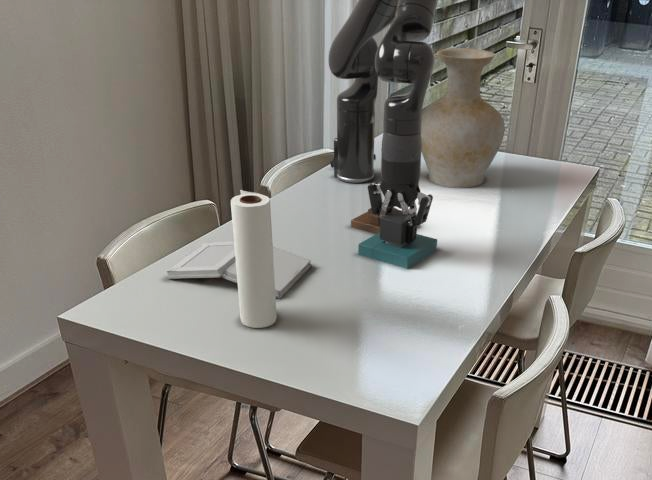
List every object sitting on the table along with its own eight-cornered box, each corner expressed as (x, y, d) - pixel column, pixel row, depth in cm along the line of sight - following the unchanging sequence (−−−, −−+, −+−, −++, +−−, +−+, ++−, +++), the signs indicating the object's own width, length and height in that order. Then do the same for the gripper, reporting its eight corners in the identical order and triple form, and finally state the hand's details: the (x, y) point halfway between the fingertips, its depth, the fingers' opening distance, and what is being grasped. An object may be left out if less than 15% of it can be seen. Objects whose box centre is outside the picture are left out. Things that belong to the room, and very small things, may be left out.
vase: (418, 163, 207) (424, 43, 191) (499, 168, 205) (512, 47, 189) (409, 189, 189) (414, 59, 173) (498, 195, 187) (512, 64, 171)
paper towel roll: (270, 330, 128) (263, 206, 116) (235, 327, 129) (224, 203, 117) (282, 311, 134) (277, 191, 122) (249, 307, 135) (240, 188, 123)
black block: (379, 250, 155) (380, 217, 151) (395, 241, 159) (396, 209, 155) (400, 256, 153) (401, 223, 149) (415, 247, 157) (417, 214, 153)
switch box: (350, 227, 167) (350, 212, 165) (373, 215, 174) (374, 200, 172) (393, 239, 162) (394, 223, 160) (415, 226, 169) (416, 211, 167)
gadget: (311, 266, 150) (311, 248, 148) (280, 299, 138) (279, 280, 136) (206, 249, 155) (204, 232, 153) (166, 279, 143) (164, 261, 141)
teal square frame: (358, 255, 155) (358, 243, 154) (389, 237, 163) (389, 226, 162) (407, 269, 150) (407, 257, 148) (436, 250, 158) (437, 239, 157)
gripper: (443, 157, 145) (438, 241, 154) (380, 143, 152) (378, 225, 161) (423, 166, 140) (418, 253, 149) (358, 152, 146) (358, 236, 155)
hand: (397, 238), depth 155 cm, fingers closed on black block, 5 cm apart
